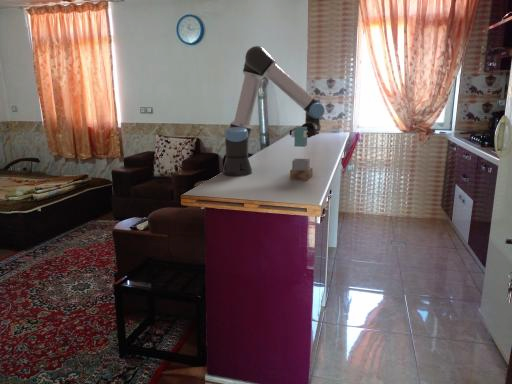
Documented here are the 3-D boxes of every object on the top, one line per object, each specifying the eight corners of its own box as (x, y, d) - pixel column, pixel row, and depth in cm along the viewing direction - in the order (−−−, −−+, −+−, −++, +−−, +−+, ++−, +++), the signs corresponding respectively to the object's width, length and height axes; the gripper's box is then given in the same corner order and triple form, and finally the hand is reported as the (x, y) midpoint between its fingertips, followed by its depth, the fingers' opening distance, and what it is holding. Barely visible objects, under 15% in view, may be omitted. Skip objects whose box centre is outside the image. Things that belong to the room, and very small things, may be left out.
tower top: (292, 170, 192) (292, 161, 191) (294, 167, 199) (294, 158, 198) (307, 170, 190) (307, 161, 189) (309, 167, 197) (309, 158, 196)
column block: (294, 146, 191) (294, 127, 189) (296, 145, 195) (297, 126, 193) (304, 146, 189) (304, 127, 187) (307, 145, 194) (307, 126, 192)
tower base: (290, 179, 193) (290, 170, 192) (294, 175, 201) (294, 167, 200) (308, 180, 190) (308, 171, 189) (312, 176, 198) (312, 167, 197)
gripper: (325, 137, 205) (317, 143, 184) (291, 136, 211) (279, 142, 190) (326, 122, 203) (317, 126, 182) (291, 122, 209) (279, 126, 188)
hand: (298, 134), depth 186 cm, fingers closed on column block, 5 cm apart
